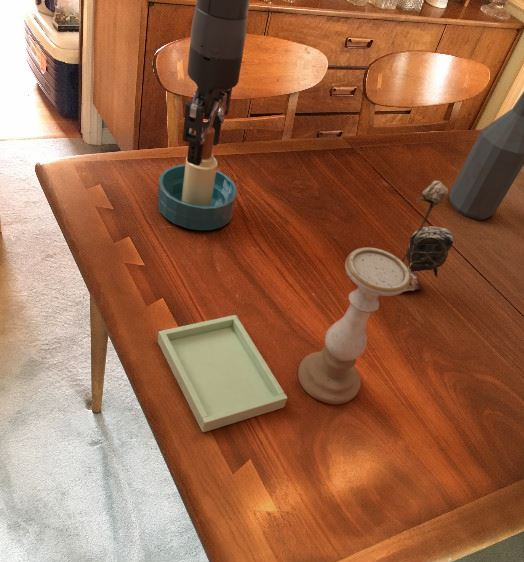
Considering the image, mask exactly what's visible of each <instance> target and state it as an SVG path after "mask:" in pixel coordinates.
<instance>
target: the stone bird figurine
mask: <svg viewBox="0 0 524 562" xmlns="http://www.w3.org/2000/svg"><path fill="white" fill-rule="evenodd" d="M448 193H449V188H448V187H447V186H446V185H444V184H443V182H442V181H440V180H438V179H434V180H433V181H431V183H430V184H429V185H428V186H427V187H425V188H424V189H423V191H422V192H421V197H418V199H416V201H415V203H420V202H421V201H424V202H426V203H429V204H430V205H429V207H428V209H427V211H426V213H425V216H424V219H423V220H422V223H421V224H420V227H419V228H418V229H417V230H415V231H414V232H413V234H412V236H410V237H409V241H408V245H407V250H405V253H404V256H403V258H402V259H401V261H402V262H403V263H404V261H405V260H407V262H408V263H407V264H405V263H404V264H405V265H406V266H407V268H408V270H409V273H410V283H409V285H408V287H407V289H406V290H405V291H404V292H408V291H415V290H421V287H420V286H419V282H418V277H417V274H416V272H422V271H432V272H433V274H434V276H435V278H436V279H438V278H439V273H438V272H439V271H438V268H440V267H442V266H443V265H444V263H445V262H446V261H447V259H448V256H449V251H450V250H451V248H452V246H453V244H454V240H456V239H457V237H454V236H453V234H452V232H451V231H450V230H449V229H448V228H447V227H440V226H431V225H430V226H425V224H426V222H427V220H428V217H429V216H430V214H431V212H432V211H433V208H434V206H437V205H439V204H440V203H442V202H443V201H444V199H445V198H446V196H447V195H448Z"/></svg>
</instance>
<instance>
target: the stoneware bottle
mask: <svg viewBox="0 0 524 562" xmlns="http://www.w3.org/2000/svg"><path fill="white" fill-rule="evenodd" d="M202 129H203V128H202ZM214 134H215V129H214V128H213V127H212V128H211V129H210V130H208V131H207V134H206V138H205V142H204V148H203V156H202V163H201V164H200V165H199V166H197V165H194V164H191V163H189V162H188V161H187V156H186V157H185V163H184V164H185V172H184V181H183V190H182V199H181V201H182V202H185V203H188V204H191V205H197V206H211V203H212V197H213V190H214V184H215V178H216V171H217V170H218V164H219V162H218V160H217V158H215V155H214V154H213V147H214V145H213V141H214Z"/></svg>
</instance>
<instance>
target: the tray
mask: <svg viewBox="0 0 524 562" xmlns="http://www.w3.org/2000/svg"><path fill="white" fill-rule="evenodd" d="M157 343H158V345H159V347H160V350H161V351H162V354H163V355H164V357H165V359H166V362H167V364H168V365H169V367H170V370H171V372H172V374H173V375H174V378H175V380H176V382H177V384H178V386H179V387H180V390H181V392H182V394H183V396H184V398H185V400H186V402H187V404H188V406H189V408H190V410H191V413H192V414H193V416H194V419H195V420H196V422H197V424H198V427H199V428H200V430H201V432H202V433H206V432H209V431H213V430H216V429H218V428H222V427H225V426H228V425H232V424H235V423H238V422H241V421H244V420H247V419H251V418H255V417H257V416H260V415H264V414H267V413H270V412H275V411H276V410H277V411H278V410H280V409H283V408H284V407H285V406H286V403H287V400H288V396H287V394H286V393H285V391H284V389H283V388H282V386H281V385H280V384H279V383H280V382H279V381H278V380H277V378H276V377H275V375H274V374H273V372H272V370H271V369H270V367H269V365H268V364H267V362H266V361H265V359H264V357H263V356H262V354H261V352H260V351H259V349H258V348H257V346H256V345H255V343H254V340H252V338H251V336H250V335H249V333H248V332H247V330H246V329H245V326H244V325H243V324H242V322H241V321H240V318H239V317H238V316H237V314H233V315H227V316H223V317H219V318H214V319H209V320H204V321H200V322H196V323H191V324H187V325H181V326H178V327H173V328H167V329H163V330H159V331H158V335H157Z"/></svg>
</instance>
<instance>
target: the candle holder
mask: <svg viewBox="0 0 524 562" xmlns="http://www.w3.org/2000/svg"><path fill="white" fill-rule="evenodd" d="M406 265H407V264H406ZM406 265H405V262H404V261H403V262H402V259H400V258H399V257H397V256H396V255H395V254H393V253H391V252H389V251H387V250H384V249H381V248H376V247H370V246H369V247H367V246H366V247H359V248H356V249H354V250H352V251H351V252H350V253H349V254H348V255H347V256H346V259H345V261H344V270H345V273H346V275H347V276H348V277H349V279H350V280H351V281H352V282H353V283H354V284H355V285H356V286H357V288H356V289H353V290H352V291H350V293H349V294H348V302H349V305H348V307H347V310H346V312H345V313H344V315H342V317H340V319H338V320H337V321H335V322H334V323H332V324H331V326H330V327H329V328H328V329H327V331H326V332H325V336H324V345H323V347H322V349H321V351H314V352H312V353H311V352H310V353H309V354H307V355H306V356H305V357H304V358H303V359H302V360H301V362H300V364H299V366H298V372H297V374H298V375H297V376H298V377H297V378H298V380H299V383H300V386H301V387H302V388H303V390H304V391H305V392H306V393H307V395H309V396H311V397H312V398H314V400H317V401H319V402H321V403H325V404H329V405H341V404H346V403H348V402H350V401H352V400H353V399H354V398H355V397H356V396H357V394H358V392H359V391H360V388H361V376H360V374H359V372H358V370H357V368H356V367H355V365H356V363H357V359H358V358H360V357H361V356H362V355H363V354H364V353H365V351H366V349H367V345H368V334H367V333H368V332H367V324H368V321H369V319H370V316H371V314H372V313H374V312H376V311H378V310H379V308H380V305H381V304H380V300H379V297H380V296H384V297H394V296H398V295H400V294H402V293H405V292H406V291H405V290H406V289H407V287H408V285H409V283H410V273H409V270H408V268H407V266H408V265H407V266H406Z"/></svg>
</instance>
